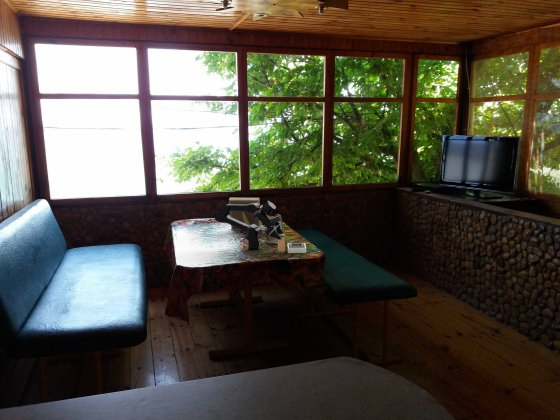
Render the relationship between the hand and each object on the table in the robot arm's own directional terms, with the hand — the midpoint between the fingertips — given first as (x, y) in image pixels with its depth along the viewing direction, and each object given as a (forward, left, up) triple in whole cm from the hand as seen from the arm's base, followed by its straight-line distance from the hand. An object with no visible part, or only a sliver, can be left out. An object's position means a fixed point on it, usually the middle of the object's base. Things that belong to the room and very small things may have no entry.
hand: (282, 237), depth 258 cm
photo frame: (-27, +53, -8) cm, 60 cm away
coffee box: (-5, +20, -8) cm, 23 cm away
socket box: (+9, 0, -8) cm, 12 cm away
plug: (-1, 0, -8) cm, 8 cm away
